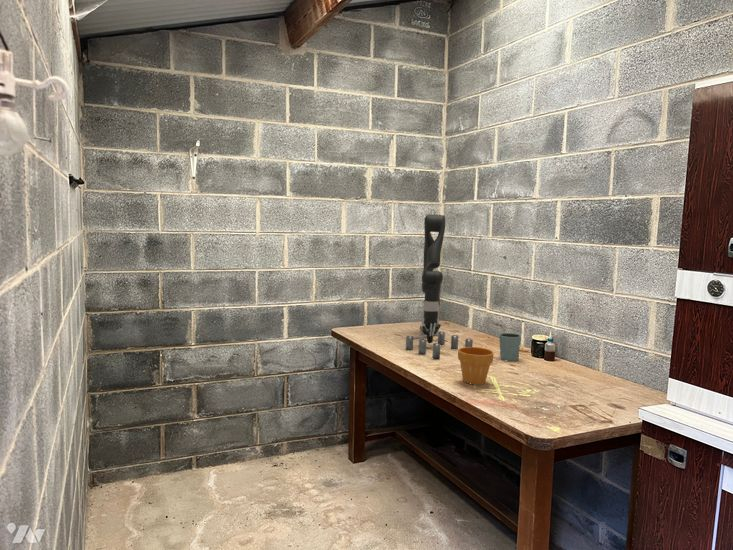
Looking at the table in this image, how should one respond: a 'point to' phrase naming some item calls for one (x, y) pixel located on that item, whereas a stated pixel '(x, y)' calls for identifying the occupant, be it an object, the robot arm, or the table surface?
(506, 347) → the grey-blue tapered bin
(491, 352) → the flower pot
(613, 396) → the table surface
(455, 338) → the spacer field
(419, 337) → the pipe connector
